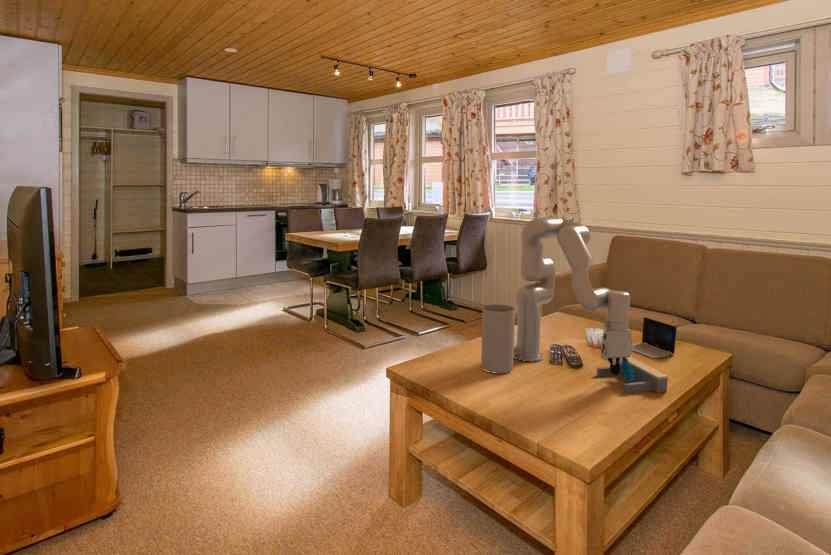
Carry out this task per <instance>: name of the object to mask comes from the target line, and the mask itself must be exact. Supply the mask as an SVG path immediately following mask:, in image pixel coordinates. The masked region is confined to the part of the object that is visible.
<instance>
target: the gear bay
mask: <svg viewBox="0 0 831 555" xmlns="http://www.w3.org/2000/svg"><path fill="white" fill-rule="evenodd" d="M626 359H628V363H630V364H631V370H632V369H633V371H634V373H631V374H632V375H634V376H635V379H633V380H634V381H636V382H633V383H628V382H627V383H623V390H622V392H623V393H625V394H633V393H642V392H643V393H644V392H650V391H653V392H655V393H656V392H658V393H666V392H665V391H667V392H668V390H667V389H668V381H669V380H668V379H669V375H667V374H665V373H663V372H661V371H659V370H658V369H656V368H654V367H651V366H649V365H648V364H645V363H644V362H642V361H640V360H637V359H636V358H635V357H632V356H630V357H629V358H626ZM620 366H621V365H620ZM596 369H597V370H596V376H597V377H607V376H614V375H613V374H611V373H610V366H602V367H601V366H600V367H597V368H596ZM619 375H621V373H619Z"/></svg>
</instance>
